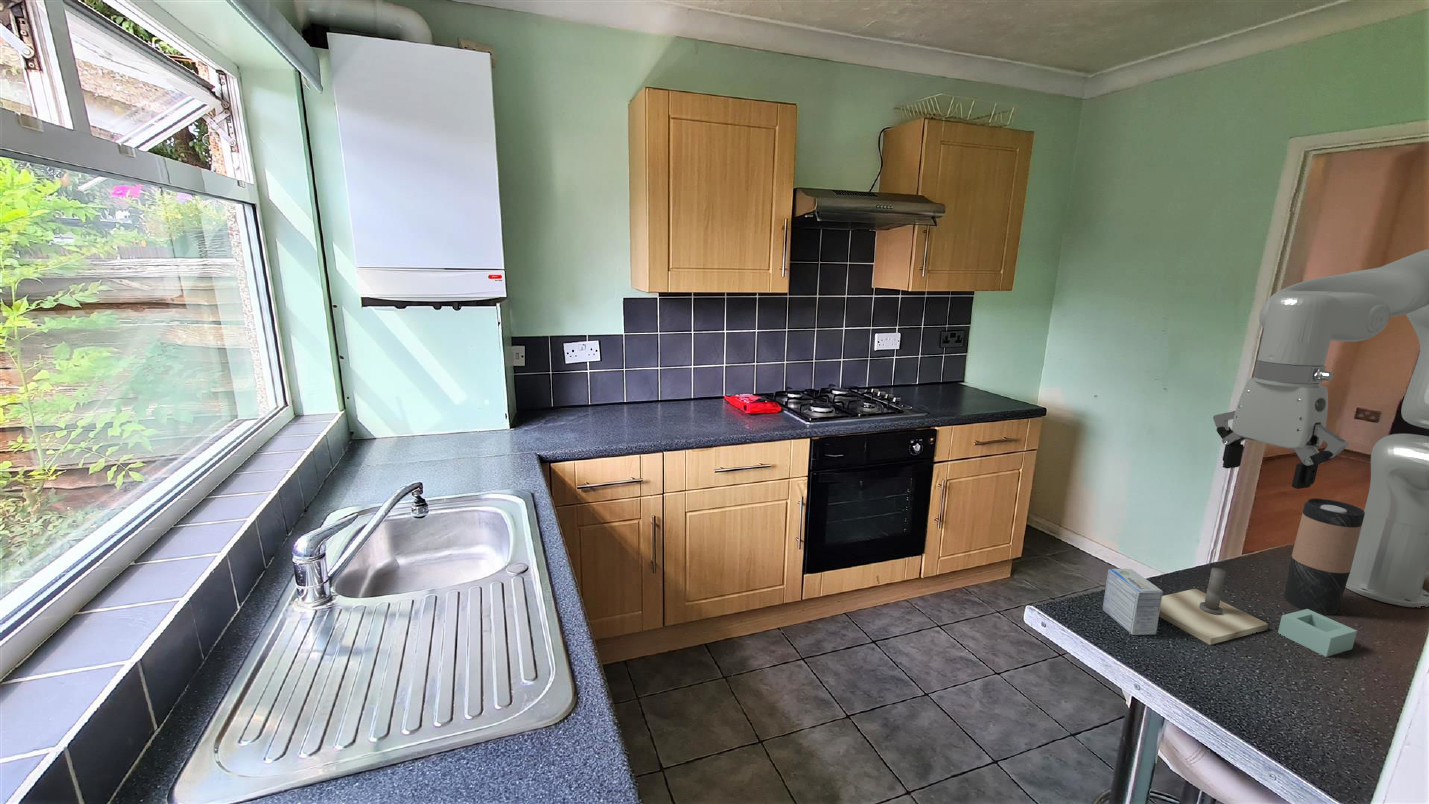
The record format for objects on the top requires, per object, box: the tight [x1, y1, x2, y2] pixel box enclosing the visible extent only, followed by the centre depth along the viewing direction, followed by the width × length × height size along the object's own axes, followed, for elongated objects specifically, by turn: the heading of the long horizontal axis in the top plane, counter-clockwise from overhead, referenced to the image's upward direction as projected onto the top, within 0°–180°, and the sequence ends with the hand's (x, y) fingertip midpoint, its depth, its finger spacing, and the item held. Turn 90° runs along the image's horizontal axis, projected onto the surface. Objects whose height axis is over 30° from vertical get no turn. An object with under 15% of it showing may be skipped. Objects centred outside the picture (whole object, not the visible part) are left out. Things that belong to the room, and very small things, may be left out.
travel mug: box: [1283, 497, 1365, 616], centre depth 106 cm, size 8×8×20 cm
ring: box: [1277, 609, 1358, 658], centre depth 98 cm, size 7×7×4 cm
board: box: [1159, 567, 1269, 646], centre depth 104 cm, size 14×12×9 cm
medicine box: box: [1102, 568, 1163, 636], centre depth 103 cm, size 8×4×9 cm, turn 0°
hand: (1264, 476), depth 93 cm, fingers open, 9 cm apart
